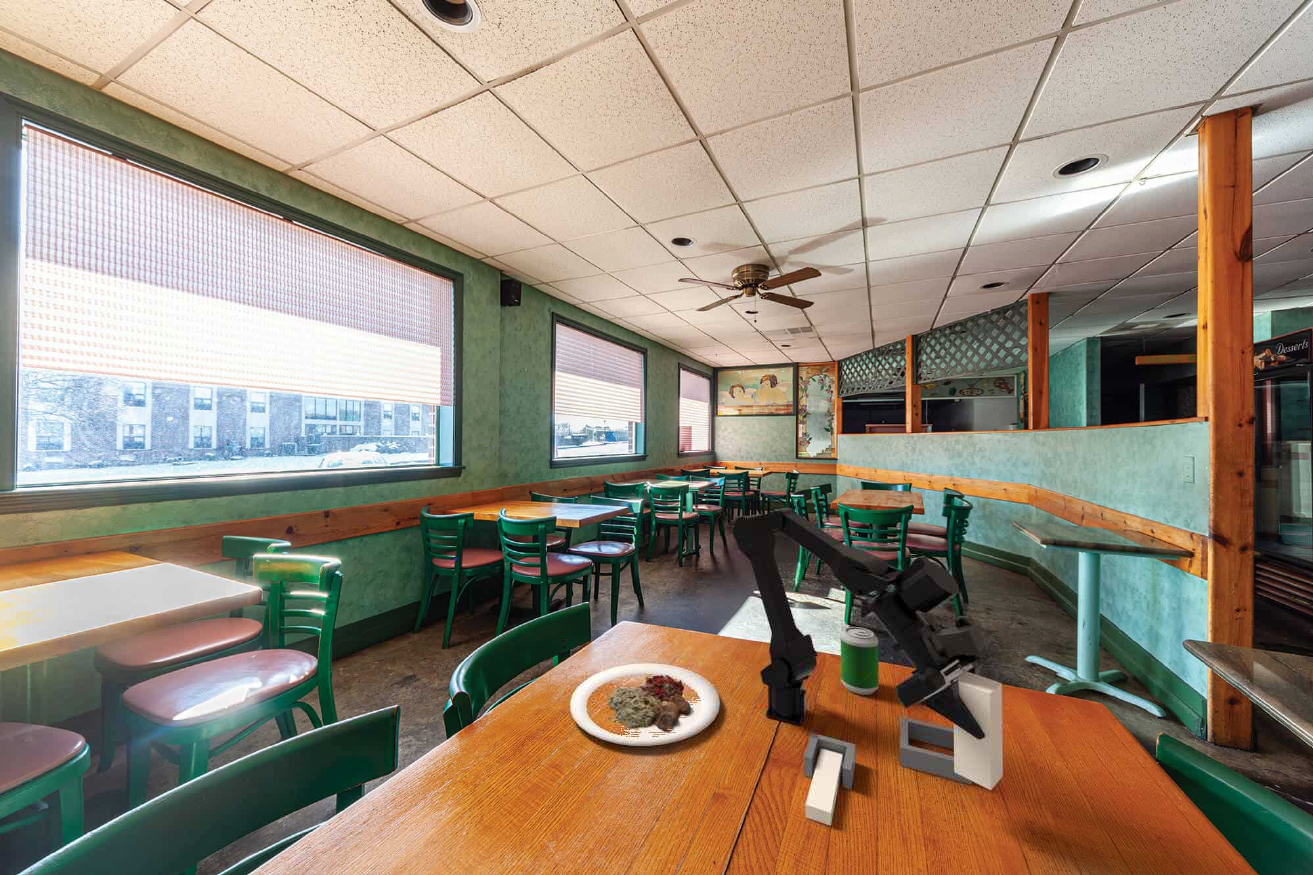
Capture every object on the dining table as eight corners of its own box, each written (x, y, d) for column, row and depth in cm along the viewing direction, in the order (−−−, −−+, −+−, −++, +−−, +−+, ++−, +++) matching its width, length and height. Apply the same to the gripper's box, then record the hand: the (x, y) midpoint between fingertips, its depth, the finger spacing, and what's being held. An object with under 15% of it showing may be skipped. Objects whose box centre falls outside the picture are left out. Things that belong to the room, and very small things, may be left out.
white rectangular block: (954, 772, 69) (953, 680, 69) (966, 759, 71) (966, 671, 71) (990, 790, 65) (989, 693, 65) (1002, 775, 68) (1001, 683, 68)
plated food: (548, 748, 84) (548, 729, 84) (591, 668, 114) (591, 654, 114) (721, 760, 81) (720, 740, 81) (719, 674, 111) (718, 660, 111)
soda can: (882, 698, 100) (882, 640, 100) (844, 694, 101) (843, 637, 101) (874, 680, 107) (873, 626, 107) (838, 677, 108) (837, 624, 109)
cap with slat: (792, 812, 69) (792, 791, 69) (811, 750, 83) (811, 732, 83) (844, 830, 66) (844, 808, 66) (855, 762, 80) (855, 744, 80)
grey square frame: (899, 765, 79) (899, 746, 79) (900, 732, 88) (900, 716, 88) (971, 784, 74) (971, 765, 74) (964, 748, 83) (964, 731, 83)
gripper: (917, 615, 66) (1015, 735, 57) (971, 589, 77) (1059, 686, 68) (863, 653, 72) (943, 766, 63) (920, 623, 83) (995, 716, 74)
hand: (989, 731), depth 67 cm, fingers closed on white rectangular block, 4 cm apart
